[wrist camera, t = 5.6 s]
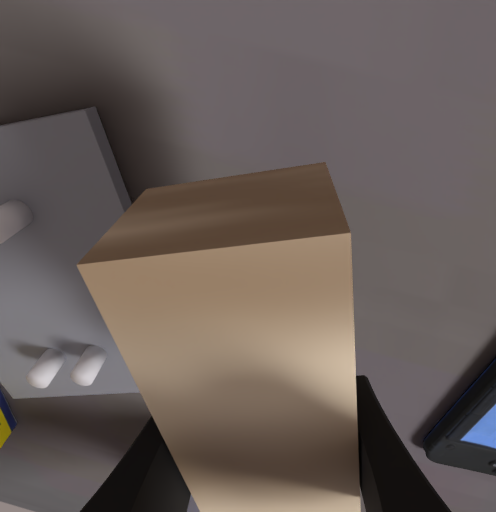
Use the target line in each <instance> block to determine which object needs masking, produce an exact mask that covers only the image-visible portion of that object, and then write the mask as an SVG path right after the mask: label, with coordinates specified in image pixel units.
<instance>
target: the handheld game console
mask: <svg viewBox="0 0 496 512" xmlns="http://www.w3.org/2000/svg"><path fill="white" fill-rule="evenodd" d="M423 448H424V450H425V452H426V456H427V458H428V459H429V460H431V461H433V462H436V463H439V464H444V465H448V466H453V467H458V468H463V469H467V470H472V471H476V472H481V473H485V474H490V475H494V476H496V359H495V360H494V361H493V362H492V363H491V364H490V365H489V367H488V368H487V369H486V370H485V371H484V372H483V373H482V375H481V376H480V377H479V378H478V379H477V380H476V381H475V382H474V384H473V385H472V386H471V387H470V388H469V389H468V390H467V391H466V392H465V394H464V395H463V396H462V397H461V398H460V399H459V400H458V401H457V402H456V404H455V405H454V406H453V407H452V408H451V409H450V410H449V412H448V413H447V414H446V415H445V416H444V417H443V418H442V419H441V421H440V422H439V423H438V424H437V425H436V426H435V428H434V429H433V430H432V431H431V432H430V433H429V434H428V436H427V437H426V438H425V440H424V443H423Z"/></svg>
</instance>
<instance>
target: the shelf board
mask: <svg viewBox="0 0 496 512" xmlns="http://www.w3.org/2000/svg"><path fill="white" fill-rule="evenodd" d="M77 267H78V269H79V271H80V273H81V275H82V277H83V279H84V281H85V283H86V285H87V287H88V289H89V291H90V293H91V295H92V297H93V299H94V301H95V303H96V305H97V307H98V309H99V311H100V313H101V315H102V317H103V319H104V321H105V323H106V325H107V327H108V329H109V331H110V333H111V335H112V337H113V339H114V341H115V343H116V345H117V347H118V349H119V351H120V353H121V355H122V357H123V359H124V361H125V363H126V365H127V367H128V369H129V371H130V373H131V375H132V377H133V379H134V381H135V383H136V385H137V387H138V389H139V391H140V393H141V395H142V397H143V399H144V401H145V403H146V405H147V407H148V409H149V411H150V413H151V415H152V417H153V419H154V421H155V423H156V425H157V427H158V429H159V431H160V433H161V435H162V437H163V439H164V441H165V443H166V445H167V447H168V449H169V451H170V453H171V455H172V457H173V459H174V461H175V463H176V465H177V467H178V469H179V471H180V473H181V475H182V477H183V479H184V481H185V483H186V485H187V487H188V489H189V491H190V493H191V495H192V497H193V499H194V501H195V503H196V505H197V507H198V509H199V511H200V512H361V510H360V481H359V453H358V424H357V395H356V367H355V338H354V309H353V281H352V252H351V232H350V229H349V226H348V224H347V221H346V218H345V215H344V213H343V210H342V207H341V204H340V201H339V199H338V196H337V193H336V190H335V188H334V185H333V182H332V179H331V177H330V174H329V171H328V168H327V165H326V163H325V162H323V163H316V164H310V165H303V166H296V167H290V168H283V169H276V170H269V171H263V172H256V173H249V174H243V175H236V176H229V177H223V178H216V179H209V180H203V181H196V182H189V183H183V184H176V185H169V186H163V187H156V188H149V189H146V190H145V191H144V192H143V193H142V194H141V195H140V196H139V197H138V199H137V200H136V201H135V202H134V203H133V204H132V205H131V206H130V207H129V208H128V209H127V210H126V212H125V213H124V214H123V215H122V216H121V217H120V218H119V219H118V220H117V221H116V222H115V223H114V225H113V226H112V227H111V228H110V229H109V230H108V231H107V232H106V233H105V234H104V235H103V236H102V238H101V239H100V240H99V241H98V242H97V243H96V244H95V245H94V246H93V247H92V248H91V249H90V251H89V252H88V253H87V254H86V255H85V256H84V257H83V258H82V259H81V260H80V261H79V262H78V264H77Z"/></svg>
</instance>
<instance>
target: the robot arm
mask: <svg viewBox="0 0 496 512" xmlns="http://www.w3.org/2000/svg"><path fill="white" fill-rule="evenodd" d="M356 395H357V424H358V453H359V481H360V488H361V492H362V496H363V500H364V504H365V508H366V512H451V511H450V509H449V508H448V507H447V505H446V504H445V503H444V502H443V500H442V499H441V498H440V496H439V495H438V494H437V492H436V491H435V489H434V488H433V487H432V485H431V484H430V483H429V481H428V480H427V478H426V477H425V475H424V474H423V473H422V471H421V470H420V468H419V467H418V465H417V464H416V462H415V461H414V460H413V458H412V457H411V455H410V453H409V452H408V450H407V449H406V447H405V446H404V444H403V443H402V441H401V439H400V438H399V436H398V435H397V433H396V431H395V430H394V428H393V426H392V425H391V423H390V421H389V420H388V418H387V416H386V414H385V413H384V411H383V409H382V407H381V405H380V403H379V401H378V399H377V398H376V396H375V393H374V391H373V389H372V387H371V385H370V382H369V380H368V378H367V377H366V376H364V375H362V376H356ZM80 512H200V511H199V509H198V507H197V505H196V503H195V501H194V499H193V497H192V495H191V493H190V491H189V489H188V487H187V485H186V483H185V481H184V479H183V477H182V475H181V473H180V471H179V469H178V467H177V465H176V463H175V461H174V459H173V457H172V455H171V453H170V451H169V449H168V447H167V445H166V443H165V441H164V439H163V437H162V435H161V433H160V431H159V429H158V427H157V425H156V423H155V421H154V419H153V417H152V416H151V418H150V419H149V421H148V422H147V424H146V425H145V427H144V428H143V430H142V431H141V433H140V434H139V435H138V437H137V438H136V440H135V441H134V443H133V444H132V446H131V447H130V448H129V450H128V451H127V453H126V454H125V455H124V457H123V458H122V459H121V461H120V462H119V463H118V465H117V466H116V467H115V469H114V470H113V471H112V473H111V474H110V475H109V477H108V478H107V479H106V481H105V482H104V483H103V484H102V486H101V487H100V488H99V489H98V491H97V492H96V493H95V494H94V495H93V497H92V498H91V499H90V500H89V501H88V503H87V504H86V505H85V506H84V507H83V508H82V510H81V511H80Z"/></svg>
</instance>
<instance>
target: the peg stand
mask: <svg viewBox="0 0 496 512" xmlns="http://www.w3.org/2000/svg"><path fill="white" fill-rule="evenodd" d="M131 205H132V203H131V201H130V198H129V195H128V193H127V190H126V187H125V185H124V182H123V179H122V177H121V174H120V171H119V168H118V166H117V163H116V160H115V158H114V155H113V152H112V150H111V147H110V144H109V142H108V139H107V136H106V134H105V131H104V128H103V125H102V123H101V120H100V117H99V115H98V112H97V109H96V107H90V108H85V109H80V110H75V111H70V112H65V113H60V114H55V115H50V116H45V117H39V118H34V119H29V120H24V121H19V122H14V123H9V124H4V125H0V382H1V384H2V385H3V386H4V387H5V389H6V390H7V391H8V393H9V394H10V395H11V396H12V398H13V399H20V398H39V397H58V396H78V395H97V394H116V393H135V392H140V391H139V389H138V387H137V385H136V383H135V381H134V379H133V377H132V375H131V373H130V371H129V369H128V367H127V365H126V363H125V361H124V359H123V357H122V355H121V353H120V351H119V349H118V347H117V345H116V343H115V341H114V339H113V337H112V335H111V333H110V331H109V329H108V327H107V325H106V323H105V321H104V319H103V317H102V315H101V313H100V311H99V309H98V307H97V305H96V303H95V301H94V299H93V297H92V295H91V293H90V291H89V289H88V287H87V285H86V283H85V281H84V279H83V277H82V275H81V273H80V271H79V269H78V267H77V264H78V262H79V261H80V260H81V259H82V258H83V257H84V256H85V255H86V254H87V253H88V252H89V251H90V249H91V248H92V247H93V246H94V245H95V244H96V243H97V242H98V241H99V240H100V239H101V238H102V236H103V235H104V234H105V233H106V232H107V231H108V230H109V229H110V228H111V227H112V226H113V225H114V223H115V222H116V221H117V220H118V219H119V218H120V217H121V216H122V215H123V214H124V213H125V212H126V210H127V209H128V208H129V207H130V206H131Z"/></svg>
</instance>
